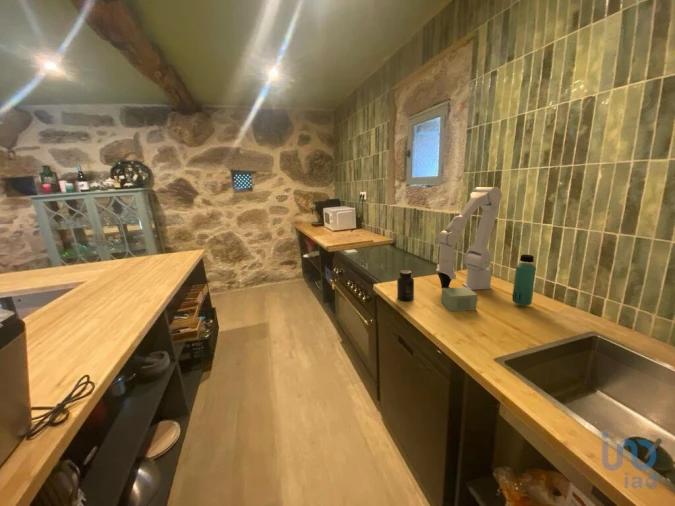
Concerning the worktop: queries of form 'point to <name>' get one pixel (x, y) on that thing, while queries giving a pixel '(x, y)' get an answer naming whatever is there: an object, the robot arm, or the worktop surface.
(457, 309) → the block
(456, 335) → the worktop surface
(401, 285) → the supplement bottle
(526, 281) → the beverage bottle
